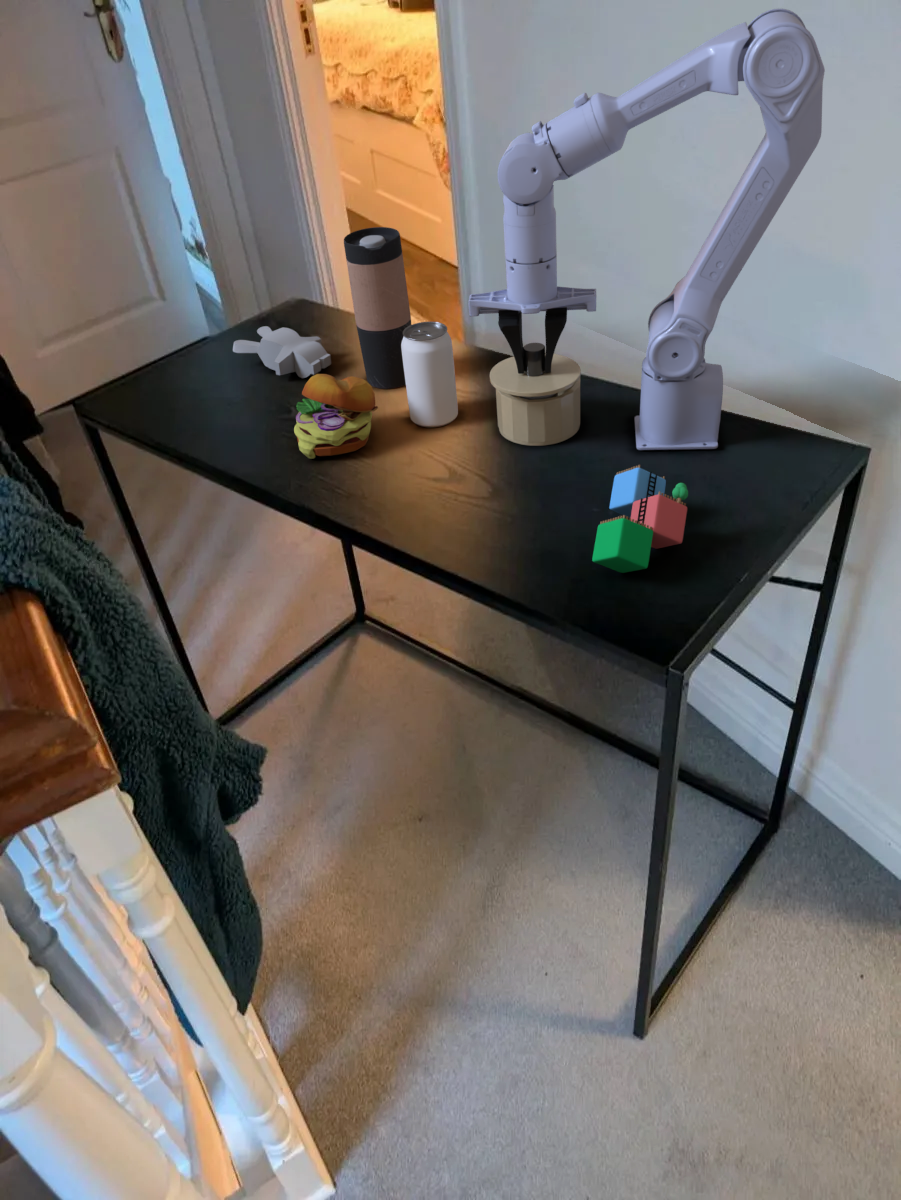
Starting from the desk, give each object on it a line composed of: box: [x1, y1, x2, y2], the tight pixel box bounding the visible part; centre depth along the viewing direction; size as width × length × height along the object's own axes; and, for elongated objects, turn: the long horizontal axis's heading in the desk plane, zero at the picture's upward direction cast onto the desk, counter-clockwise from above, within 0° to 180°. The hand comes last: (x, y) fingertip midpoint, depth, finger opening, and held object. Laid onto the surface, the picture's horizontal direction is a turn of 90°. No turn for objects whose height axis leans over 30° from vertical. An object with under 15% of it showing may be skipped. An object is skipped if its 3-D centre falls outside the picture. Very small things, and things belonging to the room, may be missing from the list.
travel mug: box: [343, 226, 412, 390], centre depth 123 cm, size 8×8×20 cm
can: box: [401, 321, 459, 428], centre depth 115 cm, size 6×6×12 cm
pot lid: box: [489, 342, 582, 397], centre depth 108 cm, size 11×11×4 cm
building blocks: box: [591, 464, 689, 574], centre depth 91 cm, size 8×8×12 cm
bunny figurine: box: [232, 325, 332, 379], centre depth 135 cm, size 10×5×15 cm
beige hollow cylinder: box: [495, 377, 581, 447], centre depth 113 cm, size 10×10×6 cm
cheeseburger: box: [293, 373, 379, 460], centre depth 114 cm, size 10×11×10 cm
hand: (534, 369), depth 108 cm, fingers closed on pot lid, 2 cm apart
